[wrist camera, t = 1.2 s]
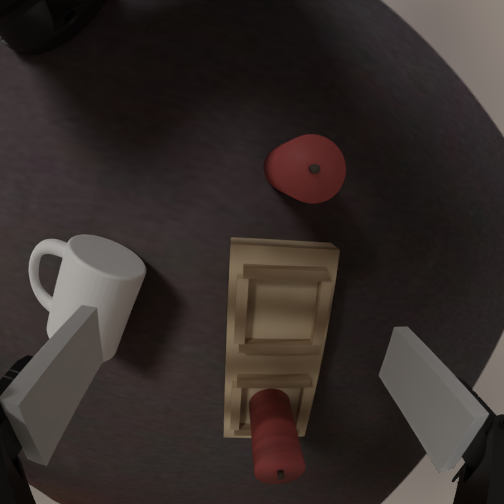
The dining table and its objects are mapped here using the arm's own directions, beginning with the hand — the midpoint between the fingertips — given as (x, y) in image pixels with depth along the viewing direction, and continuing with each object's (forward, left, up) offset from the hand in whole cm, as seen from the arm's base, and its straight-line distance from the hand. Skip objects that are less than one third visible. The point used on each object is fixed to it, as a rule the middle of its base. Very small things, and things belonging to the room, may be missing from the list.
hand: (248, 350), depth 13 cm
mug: (+4, -16, -20) cm, 25 cm away
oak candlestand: (+11, +4, -19) cm, 23 cm away
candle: (-8, +4, -19) cm, 21 cm away
